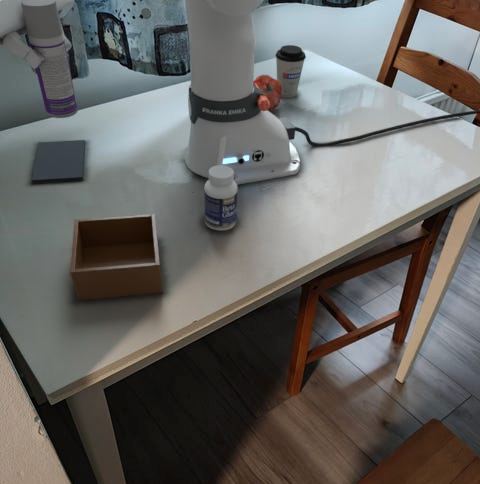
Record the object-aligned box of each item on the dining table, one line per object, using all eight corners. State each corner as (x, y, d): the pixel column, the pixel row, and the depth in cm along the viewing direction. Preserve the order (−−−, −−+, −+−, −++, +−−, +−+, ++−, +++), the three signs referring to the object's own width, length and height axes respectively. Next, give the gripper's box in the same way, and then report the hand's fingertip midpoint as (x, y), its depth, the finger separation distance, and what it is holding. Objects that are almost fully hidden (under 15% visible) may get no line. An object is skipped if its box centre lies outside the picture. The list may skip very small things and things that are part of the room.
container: (48, 104, 81) (23, -5, 71) (79, 104, 82) (59, -5, 71) (43, 118, 78) (16, 6, 67) (75, 118, 79) (53, 6, 68)
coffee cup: (268, 88, 127) (272, 44, 120) (296, 86, 128) (301, 42, 121) (277, 100, 122) (281, 55, 115) (305, 98, 124) (310, 53, 116)
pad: (85, 142, 106) (84, 139, 106) (83, 180, 97) (82, 177, 96) (39, 144, 105) (38, 142, 105) (32, 183, 96) (31, 180, 95)
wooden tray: (157, 241, 85) (155, 213, 81) (162, 292, 77) (159, 264, 73) (81, 247, 84) (74, 219, 80) (77, 300, 75) (70, 272, 71)
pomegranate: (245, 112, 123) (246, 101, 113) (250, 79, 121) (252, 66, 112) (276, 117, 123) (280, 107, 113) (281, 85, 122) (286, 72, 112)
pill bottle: (225, 235, 87) (225, 184, 80) (198, 224, 89) (197, 173, 82) (242, 219, 90) (244, 169, 83) (216, 209, 92) (216, 158, 85)
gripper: (-79, -34, 61) (12, 69, 65) (36, -67, 74) (105, 21, 78) (-92, 3, 65) (-5, 97, 70) (19, -34, 78) (85, 48, 83)
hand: (54, 57), depth 74 cm, fingers closed on container, 4 cm apart
